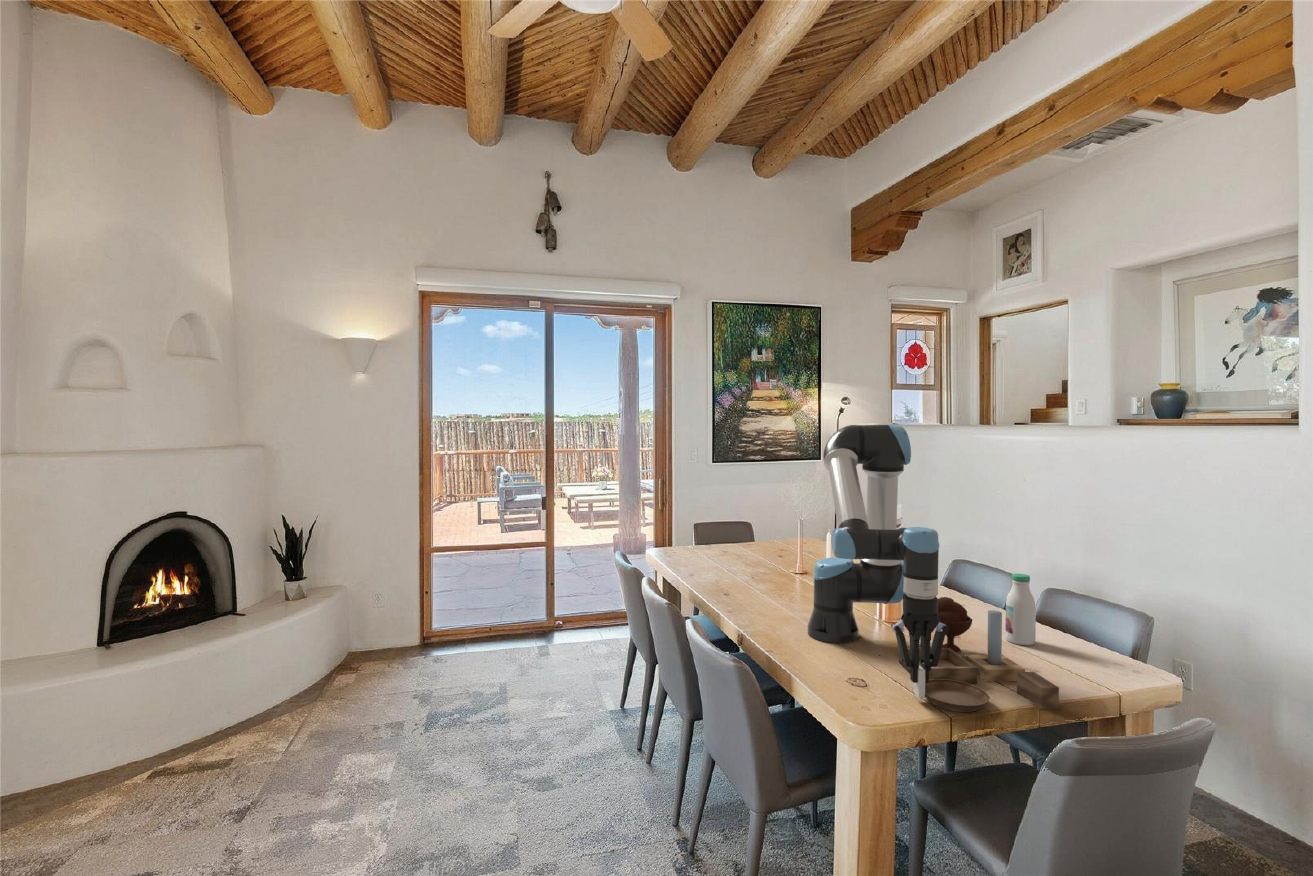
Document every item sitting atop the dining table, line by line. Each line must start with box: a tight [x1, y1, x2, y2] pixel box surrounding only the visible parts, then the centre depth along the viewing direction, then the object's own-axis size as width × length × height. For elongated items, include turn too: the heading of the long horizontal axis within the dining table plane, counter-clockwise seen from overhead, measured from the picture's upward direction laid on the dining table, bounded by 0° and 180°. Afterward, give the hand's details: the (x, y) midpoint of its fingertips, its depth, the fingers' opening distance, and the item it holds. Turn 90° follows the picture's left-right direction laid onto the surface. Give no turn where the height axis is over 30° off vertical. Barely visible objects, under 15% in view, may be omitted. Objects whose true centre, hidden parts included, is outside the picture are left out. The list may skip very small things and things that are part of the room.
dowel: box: [986, 609, 1003, 665], centre depth 160 cm, size 3×3×16 cm
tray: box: [898, 647, 978, 685], centre depth 160 cm, size 14×14×4 cm
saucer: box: [925, 679, 991, 713], centre depth 144 cm, size 15×15×3 cm
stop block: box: [1016, 671, 1060, 711], centre depth 144 cm, size 4×9×5 cm, turn 1°
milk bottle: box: [1004, 572, 1037, 646], centre depth 183 cm, size 8×8×20 cm
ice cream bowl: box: [937, 596, 973, 654], centre depth 177 cm, size 11×11×15 cm
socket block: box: [964, 654, 1026, 682], centre depth 160 cm, size 10×10×3 cm
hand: (919, 695), depth 143 cm, fingers closed
